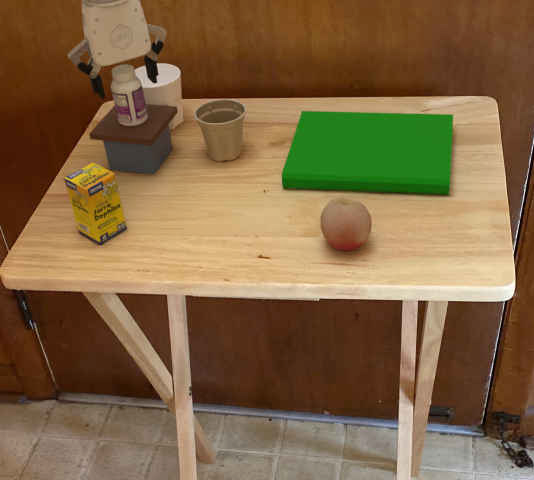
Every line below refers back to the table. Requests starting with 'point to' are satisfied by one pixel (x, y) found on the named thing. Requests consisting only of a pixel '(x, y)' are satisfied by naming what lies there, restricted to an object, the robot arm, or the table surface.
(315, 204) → the table surface
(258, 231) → the table surface
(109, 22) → the robot arm
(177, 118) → the cup
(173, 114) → the stand
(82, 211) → the supplement box
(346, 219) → the fruit
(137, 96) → the pill bottle
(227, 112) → the flower pot
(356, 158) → the book
